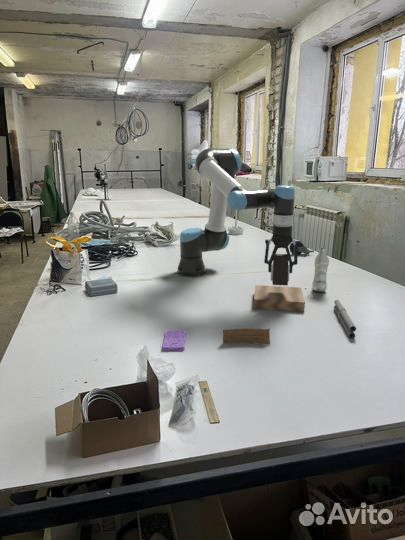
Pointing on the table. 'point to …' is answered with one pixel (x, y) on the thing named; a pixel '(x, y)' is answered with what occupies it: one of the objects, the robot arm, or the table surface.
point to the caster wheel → (300, 249)
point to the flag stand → (234, 229)
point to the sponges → (174, 340)
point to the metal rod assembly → (344, 318)
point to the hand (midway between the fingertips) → (279, 279)
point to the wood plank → (247, 336)
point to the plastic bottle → (320, 271)
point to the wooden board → (279, 298)
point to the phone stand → (280, 269)
